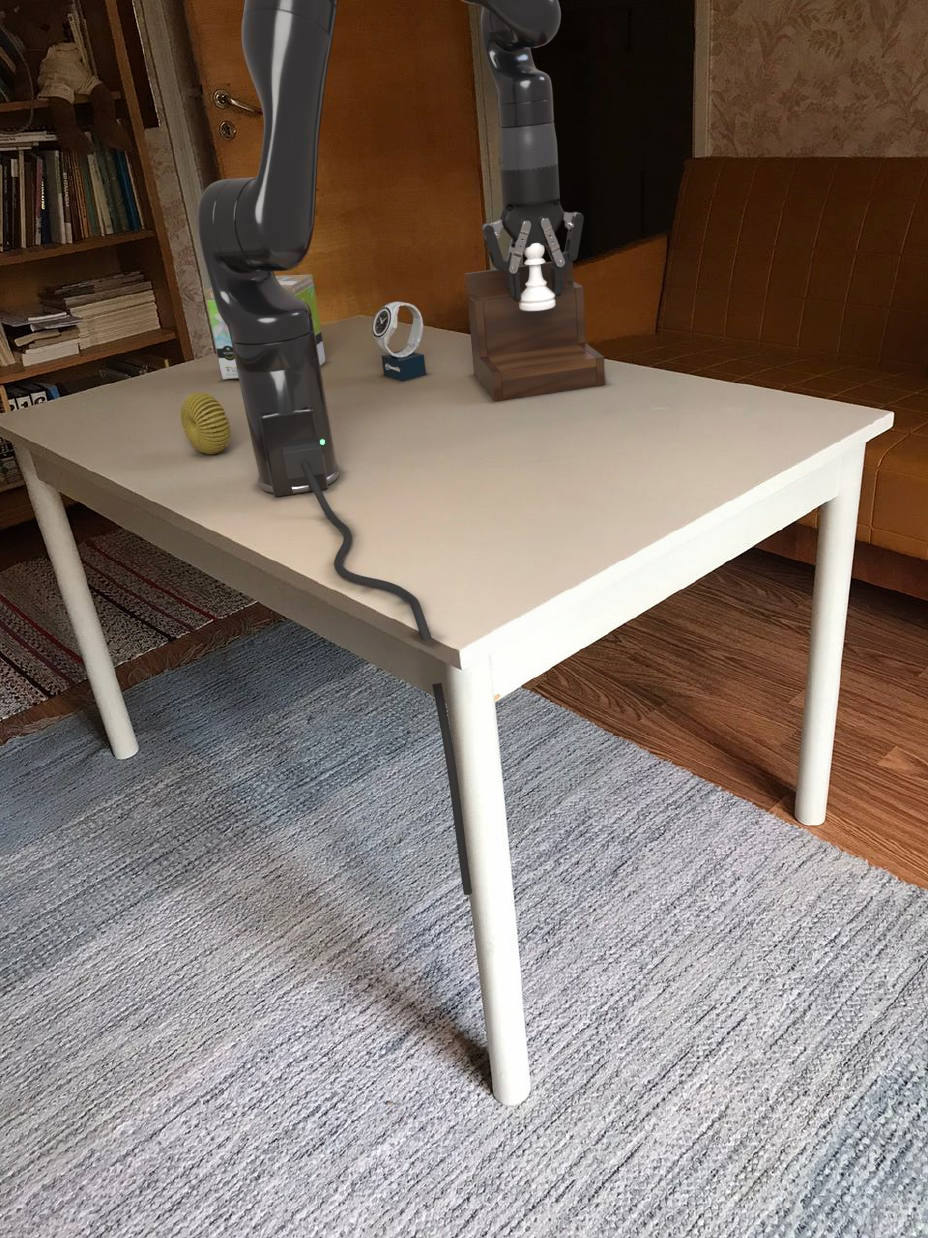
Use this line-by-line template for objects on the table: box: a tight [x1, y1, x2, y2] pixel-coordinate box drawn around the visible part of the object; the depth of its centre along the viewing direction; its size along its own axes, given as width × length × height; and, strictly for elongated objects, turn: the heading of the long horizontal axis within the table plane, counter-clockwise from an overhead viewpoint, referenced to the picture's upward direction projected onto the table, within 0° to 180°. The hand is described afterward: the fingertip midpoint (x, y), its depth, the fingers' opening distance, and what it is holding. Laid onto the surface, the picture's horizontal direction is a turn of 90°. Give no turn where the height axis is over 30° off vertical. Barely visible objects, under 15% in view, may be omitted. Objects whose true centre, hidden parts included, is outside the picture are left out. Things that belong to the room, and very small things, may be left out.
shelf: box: [464, 261, 606, 402], centre depth 144 cm, size 15×16×15 cm
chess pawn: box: [519, 243, 555, 311], centre depth 137 cm, size 5×5×9 cm
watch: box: [371, 301, 427, 382], centre depth 155 cm, size 6×8×11 cm
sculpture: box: [180, 392, 231, 455], centre depth 130 cm, size 8×4×8 cm, turn 44°
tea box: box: [204, 273, 326, 380], centre depth 164 cm, size 15×10×15 cm, turn 76°
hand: (537, 296), depth 139 cm, fingers closed on chess pawn, 5 cm apart
